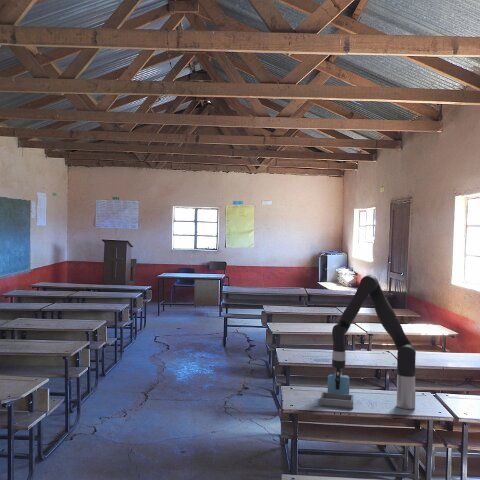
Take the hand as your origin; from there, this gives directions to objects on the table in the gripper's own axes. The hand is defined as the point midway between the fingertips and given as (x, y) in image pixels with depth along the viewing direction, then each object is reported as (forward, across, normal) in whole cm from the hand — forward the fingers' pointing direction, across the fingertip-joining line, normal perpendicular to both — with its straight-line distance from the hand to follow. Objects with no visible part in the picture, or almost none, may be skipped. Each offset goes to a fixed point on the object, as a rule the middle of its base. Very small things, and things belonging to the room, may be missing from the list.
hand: (337, 387), depth 284 cm
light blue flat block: (+6, 0, 0) cm, 6 cm away
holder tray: (+6, -13, 0) cm, 14 cm away
